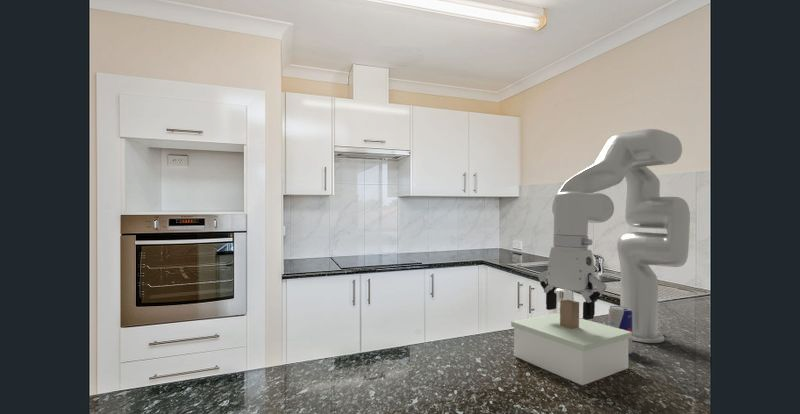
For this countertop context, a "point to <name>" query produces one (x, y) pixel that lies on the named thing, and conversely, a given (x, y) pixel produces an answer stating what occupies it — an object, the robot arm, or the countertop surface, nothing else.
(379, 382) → the countertop surface
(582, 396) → the countertop surface
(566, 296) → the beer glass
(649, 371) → the countertop surface
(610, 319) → the energy drink
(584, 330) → the lid
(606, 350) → the box
